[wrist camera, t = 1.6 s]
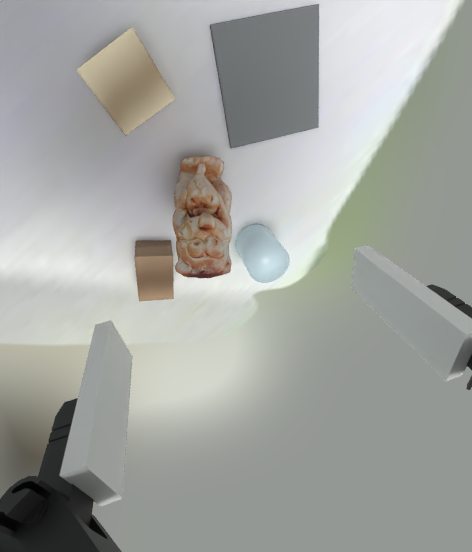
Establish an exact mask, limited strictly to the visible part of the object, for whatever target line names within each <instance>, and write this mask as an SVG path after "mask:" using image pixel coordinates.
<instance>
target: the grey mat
mask: <svg viewBox="0 0 472 552" xmlns="http://www.w3.org/2000/svg"><path fill="white" fill-rule="evenodd" d="M210 28H211V34H212V40H213V46H214V52H215V58H216V63H217V69H218V75H219V81H220V87H221V93H222V99H223V105H224V111H225V117H226V123H227V129H228V135H229V141H230V147H231V148H235V147H239V146H243V145H247V144H252V143H256V142H260V141H264V140H268V139H272V138H277V137H281V136H285V135H289V134H293V133H297V132H302V131H306V130H310V129H314V128H318V90H319V4H317V5H311V6H306V7H301V8H296V9H290V10H285V11H280V12H275V13H269V14H264V15H259V16H253V17H248V18H243V19H238V20H232V21H227V22H222V23H216V24H211V25H210Z"/></svg>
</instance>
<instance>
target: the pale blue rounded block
mask: <svg viewBox="0 0 472 552" xmlns="http://www.w3.org/2000/svg"><path fill="white" fill-rule="evenodd" d="M236 249H237V251H238V253H239V255H240V257H241V259H242V261H243V263H244V264H245V266H246V268H247V270H248V272H249V274H250V275H251V277H252V278H253V279H254V280H256V281H258V282H263V283H267V282H272V281H274V280H276V279H278V278H279V277H281V276H282V275H283V274H284V273H285V271H286V270H287V268H288V266H289V255H288V252H287V251H286V250H285V249H284V247H283V246H282V245H281V244H280V243H279V241H278V240H277V239H276V238H275V237H274V235H273V234H272V233H271V232H270V231H269V229H268V228H266V227H265V226H263V225H260V224H253V225H249V226H247V227H245V228H244V229H243V230H242V231H241V232H240V233H239V234H238V236H237V238H236Z"/></svg>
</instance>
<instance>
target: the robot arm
mask: <svg viewBox="0 0 472 552" xmlns="http://www.w3.org/2000/svg"><path fill="white" fill-rule="evenodd" d="M351 288H352V289H353V290H354V291H355V292H356V293H357V294H358V295H359V296H360V297H361V298H362V299H363V300H364V301H365V302H366V303H367V304H368V305H369V306H370V307H371V308H372V309H373V310H374V311H375V312H376V313H377V314H378V315H379V316H380V317H381V318H382V319H383V320H384V321H385V322H386V323H387V324H388V325H389V326H390V327H391V328H392V329H393V330H394V331H395V332H396V333H398V335H399V336H400V337H402V339H403V340H404V341H405V342H406V343H408V344H409V345H410V346H411V347H412V348H413V349H414V350H415V351H416V352H417V353H418V354H419V355H420V356H421V357H422V358H423V359H424V360H425V361H426V362H427V363H428V364H429V365H430V366H431V367H432V368H433V369H434V370H435V371H436V372H437V373H438V374H439V375H440V376H441V377H442V378H443V379H444V380H445V381H448V380H450V379H453V378H456V377H459V376H462V375H463V373H464V371H465V369H466V367H467V366H468V367H469V368H470V369H471V370H472V307H471V306H469V305H468V304H465V303H464V302H463V301H462V300H460V299H459V298H456V296H454V295H453V294H451V293H450V292H448V291H447V290H445V289H443V288H440V287H437V286H435V285H429V286H425V285H423V284H422V283H421V282H419V281H418V280H416V279H415V278H414V277H412V276H410V275H409V274H408V273H406V272H405V271H404V270H402V269H401V268H399V267H398V266H396V265H395V264H394V263H392V262H391V261H390V260H388V259H387V258H385V257H384V256H382V255H381V254H380V253H378V252H377V251H375V250H374V249H373V248H371V247H370V246H368V245H366V246H362V247H359V248H356V249H355V251H354V263H353V276H352V287H351ZM131 369H132V355H131V353H130V351H129V350H128V348H127V346H126V345H125V343H124V341H123V340H122V338H121V336H120V335H119V333H118V331H117V330H116V328H115V326H114V325H113V323H112V321H107V322H104V323H100V324H97V325H95V328H94V332H93V337H92V341H91V345H90V349H89V354H88V358H87V362H86V366H85V370H84V374H83V378H82V383H81V387H80V392H79V395H78V398H77V399H74V400H71V401H67V402H65V403H64V404H63V406H62V407H61V409H60V411H59V412H58V413H57V415H56V417H55V421H54V424H53V427H52V432H51V434H50V438H49V444H48V445H47V448H46V451H45V455H44V458H43V461H42V465H41V468H40V472H39V475H38V477H36V476H29V477H26V478H24V479H21V480H19V481H18V482H17V483H15V484H14V485H13V486H12V487H10V488H9V489H8V490H7V492H6V493H5V494H4V495H3V496H2V497H1V499H0V552H121V550H120V549H119V548H118V546H117V545H116V544H115V542H114V541H113V540H112V538H111V537H110V536H109V534H108V533H107V532H106V531H105V529H104V528H103V527H102V525H101V524H100V523H99V522H98V520H97V519H96V518H95V516H94V515H92V508H93V501H94V502H96V503H97V504H98V505H100V506H103V505H106V504H108V503H111V502H114V501H116V500H120V499H122V498H123V482H124V468H125V454H126V440H127V426H128V411H129V397H130V382H131ZM471 387H472V376H471V378H470V380H469V382H468V384H467V389H468V390H470V389H471Z"/></svg>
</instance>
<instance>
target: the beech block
mask: <svg viewBox="0 0 472 552" xmlns="http://www.w3.org/2000/svg"><path fill="white" fill-rule="evenodd" d="M76 71H77V72H78V73H79V75H80V76H81V77H82V79H83V80H84V81H85V83H86V84H87V85H88V87H89V88H90V89H91V91H92V92H93V93H94V94H95V96H96V97H97V98H98V100H99V101H100V102H101V104H102V105H103V106H104V108H105V109H106V110H107V112H108V113H109V114H110V116H111V117H112V118H113V120H114V121H115V122H116V124H117V125H118V126H119V128H120V129H121V130H122V132H123V133H124V134H125V136H126V135H127V134H129V133H130V132H131V131H133V130H134V129H135V128H137V127H138V126H140V125H141V124H142V123H144V122H145V121H146V120H148V119H149V118H151V117H152V116H153V115H155V114H156V113H157V112H159V111H160V110H162V109H163V108H164V107H166V106H167V105H168V104H170V103H171V102H173V101H174V100H175V98H174V96H173V94H172V93H171V91H170V89H169V88H168V86H167V84H166V83H165V81H164V79H163V78H162V76H161V74H160V73H159V71H158V69H157V68H156V66H155V64H154V63H153V61H152V59H151V58H150V56H149V54H148V53H147V51H146V49H145V48H144V46H143V44H142V43H141V41H140V39H139V37H138V36H137V34H136V32H135V31H134V29H133V27H131V28H130V29H128V30H127V31H126V32H124V33H123V34H122V35H120V36H119V37H118V38H117V39H115V40H114V41H113V42H111V43H110V44H109V45H108V46H106V47H105V48H104V49H102V50H101V51H100V52H98V53H97V54H96V55H95V56H93V57H92V58H91V59H89V60H88V61H87V62H86V63H84V64H83V65H82V66H80V67H79V68H78V69H76Z"/></svg>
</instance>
